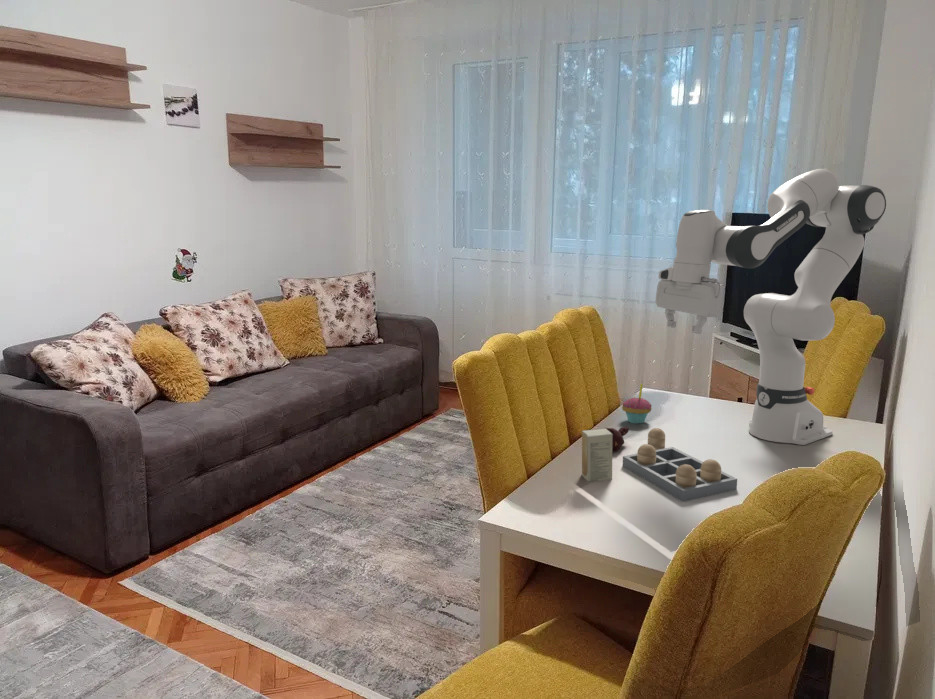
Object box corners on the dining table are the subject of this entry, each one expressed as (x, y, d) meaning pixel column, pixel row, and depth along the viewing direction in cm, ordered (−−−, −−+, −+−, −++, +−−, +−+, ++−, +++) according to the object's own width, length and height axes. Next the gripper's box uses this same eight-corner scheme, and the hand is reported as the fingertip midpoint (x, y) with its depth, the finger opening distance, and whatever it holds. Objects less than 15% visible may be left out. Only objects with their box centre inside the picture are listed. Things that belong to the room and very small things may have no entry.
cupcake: (632, 415, 207) (634, 377, 204) (656, 421, 200) (658, 382, 198) (616, 421, 201) (617, 382, 198) (640, 428, 195) (642, 388, 192)
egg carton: (671, 459, 171) (672, 446, 170) (736, 493, 151) (737, 478, 150) (622, 469, 165) (622, 456, 164) (682, 505, 145) (683, 490, 144)
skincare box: (605, 476, 161) (607, 427, 159) (612, 483, 157) (614, 433, 155) (580, 478, 160) (581, 429, 158) (586, 485, 156) (587, 435, 154)
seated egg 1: (647, 464, 165) (648, 440, 164) (659, 470, 162) (660, 446, 160) (633, 467, 164) (634, 443, 163) (644, 473, 160) (645, 449, 159)
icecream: (606, 440, 167) (640, 431, 177) (584, 426, 172) (618, 418, 182) (598, 464, 169) (632, 454, 179) (576, 450, 174) (611, 440, 184)
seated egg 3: (710, 480, 155) (712, 455, 154) (724, 487, 151) (726, 461, 150) (695, 483, 154) (697, 458, 152) (709, 491, 150) (710, 465, 148)
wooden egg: (657, 446, 180) (658, 424, 179) (668, 452, 176) (669, 429, 175) (643, 449, 178) (644, 427, 177) (654, 454, 174) (655, 432, 173)
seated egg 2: (686, 485, 153) (687, 460, 151) (699, 493, 149) (701, 466, 148) (670, 489, 151) (672, 463, 150) (683, 496, 147) (685, 470, 146)
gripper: (731, 279, 159) (723, 337, 162) (673, 272, 178) (667, 324, 180) (710, 278, 157) (702, 337, 159) (654, 271, 175) (648, 323, 178)
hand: (683, 330), depth 170 cm, fingers open, 8 cm apart
